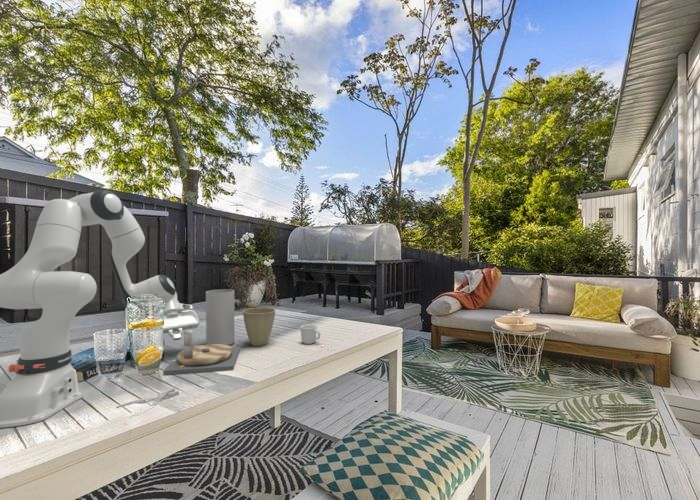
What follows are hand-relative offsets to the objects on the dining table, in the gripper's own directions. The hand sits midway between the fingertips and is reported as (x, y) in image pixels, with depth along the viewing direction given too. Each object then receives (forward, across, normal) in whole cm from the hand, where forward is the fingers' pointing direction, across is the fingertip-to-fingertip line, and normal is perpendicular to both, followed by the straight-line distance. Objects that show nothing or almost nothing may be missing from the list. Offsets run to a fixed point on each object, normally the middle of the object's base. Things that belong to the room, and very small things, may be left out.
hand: (177, 339), depth 138 cm
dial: (+12, +7, -4) cm, 15 cm away
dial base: (+14, +7, -2) cm, 16 cm away
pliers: (+31, -18, -19) cm, 41 cm away
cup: (+20, +53, -8) cm, 57 cm away
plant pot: (+9, +35, +3) cm, 36 cm away
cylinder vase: (0, +21, +12) cm, 24 cm away
